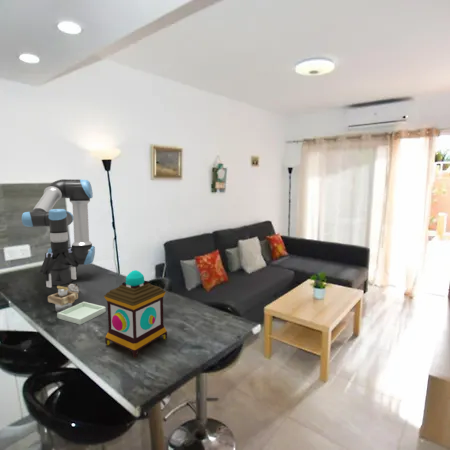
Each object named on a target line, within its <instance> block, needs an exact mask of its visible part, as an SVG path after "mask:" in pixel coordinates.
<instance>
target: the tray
mask: <svg viewBox="0 0 450 450" xmlns="http://www.w3.org/2000/svg"><path fill="white" fill-rule="evenodd" d="M106 312H107V307H106V306H104V305H101V304H100V305H99V304H96V303H91V302H87V301H82V302H80V303H77V304H75V305H72V307H70V308H68V309H66V310H63V311H61V312H57V313H56V317H57V319H59V320H62V321H65V322H69V323H72V324H77V325H83V324H86V323H87V322H89V321H91V320H92V319H95V318H96V317H99V316H100V315H102V314H105V313H106Z"/></svg>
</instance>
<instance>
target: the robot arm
mask: <svg viewBox="0 0 450 450" xmlns="http://www.w3.org/2000/svg"><path fill="white" fill-rule="evenodd" d="M93 196H94V195H93V189H92V185H91V182H90V181H89V180H88V179H82V178H81V179H58V180H56V181H53V182H51V183H50V184H48V185H47V186H46V187H45V188H44V190H43V195H42V196H41V198H40V199H39V200H38V201H37V203H36V204H35V206H34V207H33V209H32V210H31V211H25V212H23V213H22V215H21V223H22V225H23V226H24V227H26V228H28V227H29V228H30V227H31V228H35V227H36V228H37V227H40V228H42V227H44V228H45V227H48V228H49V238H50V248H49V247H48V249H47V252H45V253H44V259H43V262H42V265H41V268H40V270H39V274H41V275H43V276H44V282H45V284H46V286H45V287H46V288H52V287H53V286H62V285H67V284H70V282H71V283H72V282H73V281H75V280H77V272H78V267H79V266H81V265H84V266H85V265H91V264H92V263H93V262H94V259H95V253H96V247H95V245H93V243H92V242H91V241H90V232H89V231H90V230H89V226H90V225H89V208H88V207H89V205H88V204H89V203H90V202H91V199H93ZM61 199H69V202H70V203H71V205H72V212H70V211H67V210H66V209H65V208H54V206H55V205H56V203H57V202H58V201H60V200H61ZM71 224H73V240H74V241H73V243H71V246H69V240H68V239H69V236H68V235H69V232H68V226H70V225H71Z"/></svg>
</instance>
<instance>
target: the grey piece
mask: <svg viewBox="0 0 450 450" xmlns="http://www.w3.org/2000/svg"><path fill="white" fill-rule="evenodd" d="M56 288H57V293H58V295H59V297H60V298H63V297H65V296H68V293H67V290H68V288H67V286H62V285H56ZM70 307H73V303H66V304H64V305H58V304H54V308H55V312H57V313H59V312H61V311H63V310H66V309H68V308H70Z"/></svg>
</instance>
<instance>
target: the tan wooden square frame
mask: <svg viewBox="0 0 450 450" xmlns="http://www.w3.org/2000/svg"><path fill="white" fill-rule="evenodd" d="M67 293H68V296H65V297H63V298H60V297H59V295H58V292H56V293H53V294H50V295H48V296H47V302H48V303H50V304H51V303H52V304H54V305H55V304H58V305H64V304H66V303H72V304H74V303H75V302H76V301H75V300H78V299H79V293H76V292H72V291H67Z"/></svg>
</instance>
